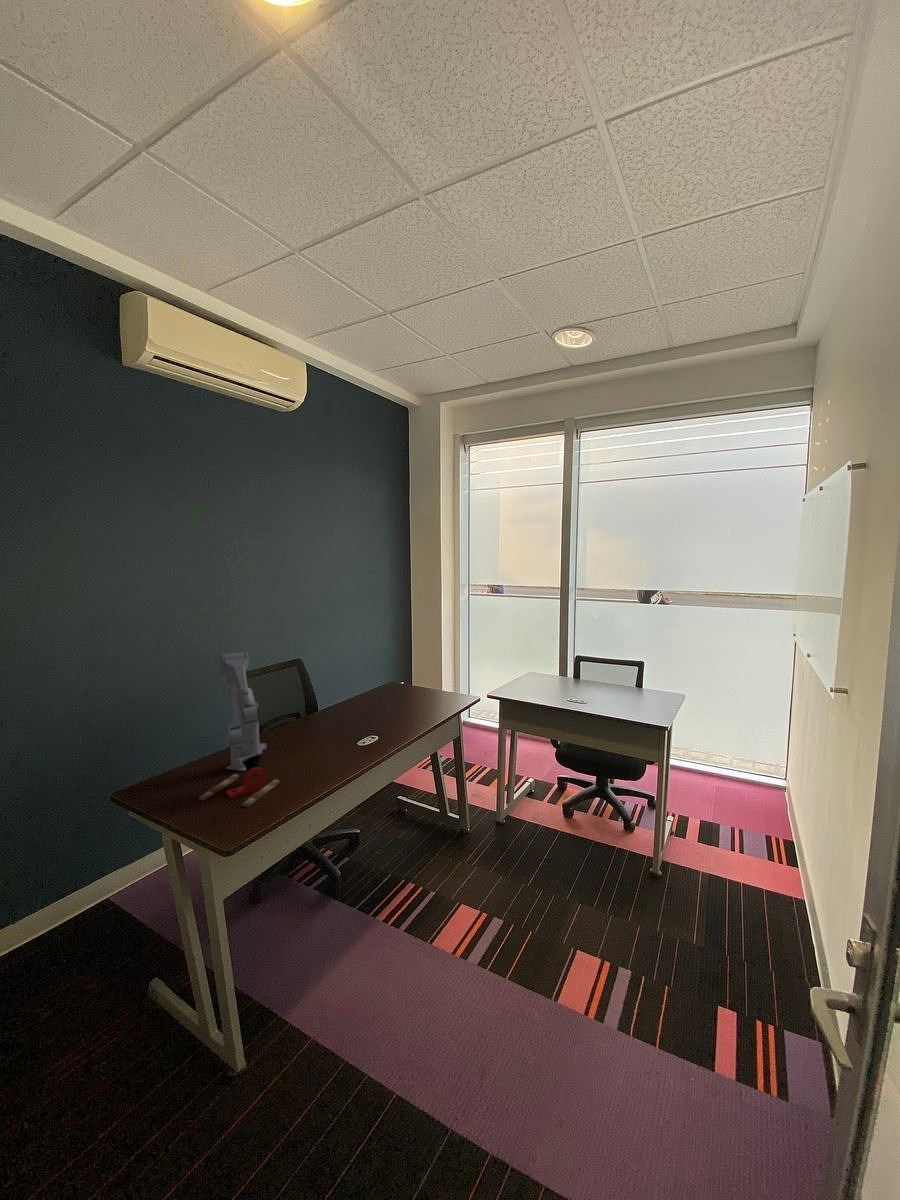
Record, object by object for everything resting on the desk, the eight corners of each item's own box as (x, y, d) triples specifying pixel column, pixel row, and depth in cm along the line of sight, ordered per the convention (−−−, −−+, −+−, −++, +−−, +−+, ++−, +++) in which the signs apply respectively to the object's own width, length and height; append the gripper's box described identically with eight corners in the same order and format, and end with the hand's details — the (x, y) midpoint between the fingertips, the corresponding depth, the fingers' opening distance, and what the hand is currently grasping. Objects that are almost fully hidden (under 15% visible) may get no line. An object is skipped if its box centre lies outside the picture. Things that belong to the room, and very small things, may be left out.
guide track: (233, 776, 179) (233, 773, 179) (279, 782, 174) (279, 779, 174) (198, 799, 163) (198, 796, 162) (248, 807, 157) (248, 803, 157)
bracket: (261, 782, 174) (260, 761, 174) (265, 787, 171) (264, 765, 170) (225, 794, 166) (224, 771, 166) (230, 799, 163) (228, 776, 162)
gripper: (246, 748, 165) (248, 786, 166) (272, 732, 179) (274, 768, 180) (229, 746, 167) (231, 784, 168) (256, 731, 181) (258, 766, 182)
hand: (252, 775), depth 174 cm, fingers closed
